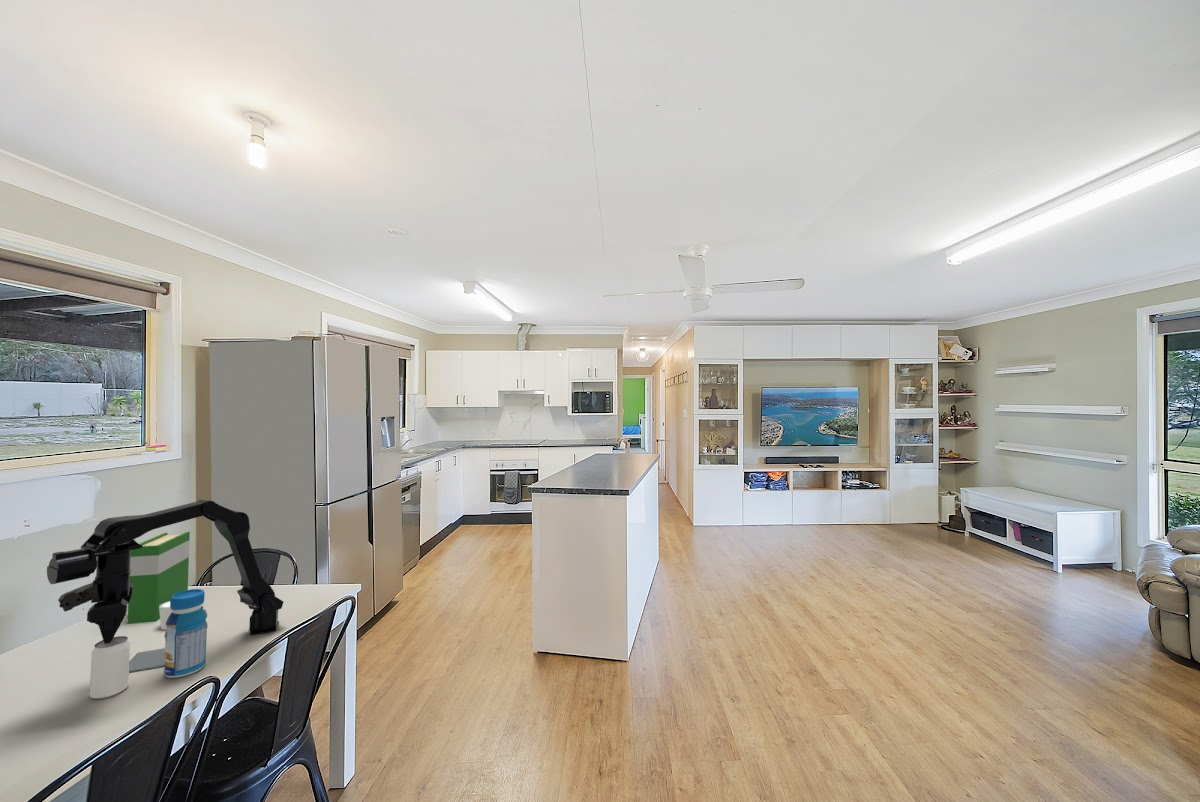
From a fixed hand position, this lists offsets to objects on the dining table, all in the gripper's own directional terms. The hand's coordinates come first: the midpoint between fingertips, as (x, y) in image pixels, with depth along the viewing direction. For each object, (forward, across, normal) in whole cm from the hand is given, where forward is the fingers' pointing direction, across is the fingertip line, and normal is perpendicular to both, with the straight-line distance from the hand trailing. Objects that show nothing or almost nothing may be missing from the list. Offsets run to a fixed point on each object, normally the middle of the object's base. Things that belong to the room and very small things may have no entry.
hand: (110, 635), depth 113 cm
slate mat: (+13, -12, +8) cm, 19 cm away
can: (+13, +1, 0) cm, 13 cm away
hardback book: (+13, -51, +7) cm, 53 cm away
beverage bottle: (+13, 0, +14) cm, 19 cm away
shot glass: (+13, -35, +11) cm, 39 cm away
